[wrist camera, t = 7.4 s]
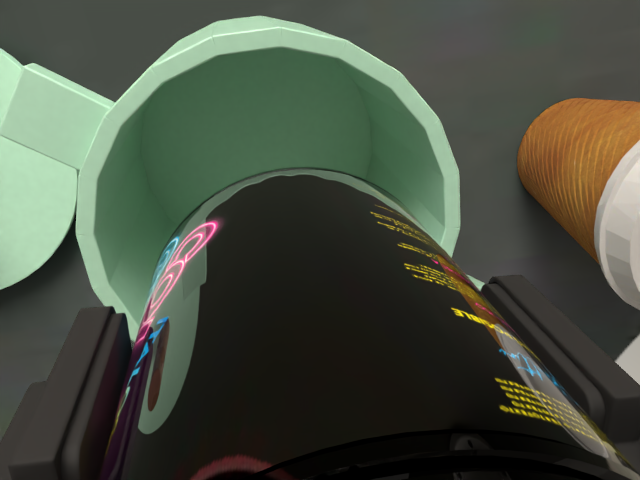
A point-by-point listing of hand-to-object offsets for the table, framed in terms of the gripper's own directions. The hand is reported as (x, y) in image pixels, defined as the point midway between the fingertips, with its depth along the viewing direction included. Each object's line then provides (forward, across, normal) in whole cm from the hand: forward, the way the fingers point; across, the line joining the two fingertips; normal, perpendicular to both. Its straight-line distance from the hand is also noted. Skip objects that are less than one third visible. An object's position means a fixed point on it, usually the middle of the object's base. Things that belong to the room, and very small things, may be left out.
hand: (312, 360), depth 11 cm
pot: (+21, 0, +1) cm, 21 cm away
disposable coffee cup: (+21, -18, +2) cm, 28 cm away
